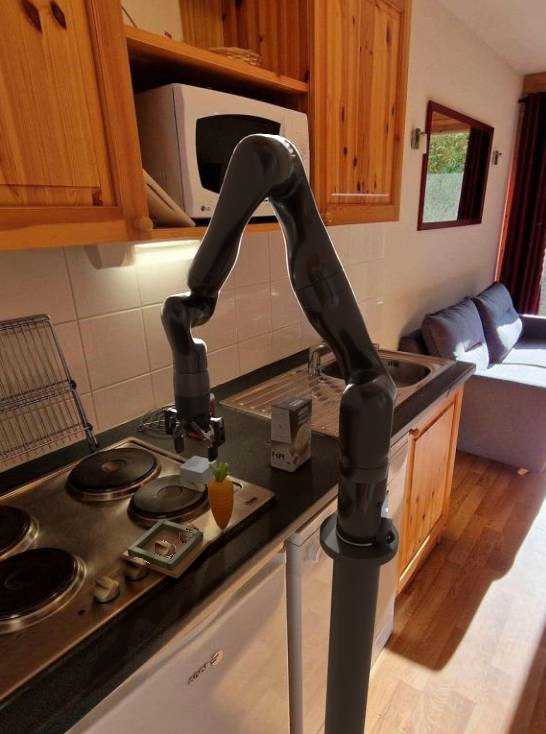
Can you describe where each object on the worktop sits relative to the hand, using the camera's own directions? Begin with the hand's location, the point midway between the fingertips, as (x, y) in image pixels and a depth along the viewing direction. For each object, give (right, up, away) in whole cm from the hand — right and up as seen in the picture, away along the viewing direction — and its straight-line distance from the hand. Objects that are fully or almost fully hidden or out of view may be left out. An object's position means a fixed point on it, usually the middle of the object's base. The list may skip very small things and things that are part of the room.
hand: (196, 456), depth 107 cm
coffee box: (+21, -3, +12) cm, 25 cm away
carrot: (+8, -13, -13) cm, 20 cm away
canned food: (-3, +3, +27) cm, 27 cm away
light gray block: (0, -6, +3) cm, 7 cm away
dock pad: (-2, -15, -19) cm, 24 cm away
